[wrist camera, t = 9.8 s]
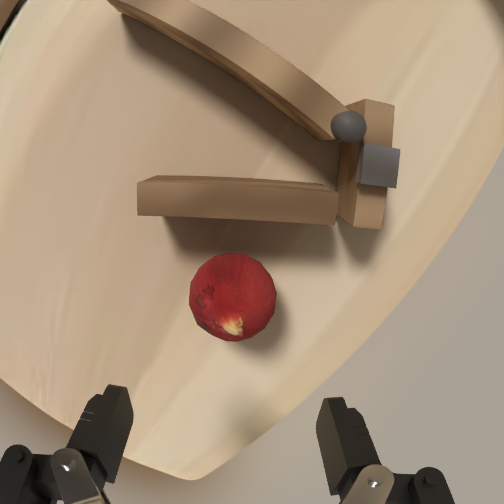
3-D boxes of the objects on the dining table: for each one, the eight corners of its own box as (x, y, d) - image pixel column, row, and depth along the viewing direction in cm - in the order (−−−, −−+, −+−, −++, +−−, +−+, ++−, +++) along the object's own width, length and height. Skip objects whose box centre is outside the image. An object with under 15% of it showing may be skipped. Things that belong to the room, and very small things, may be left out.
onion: (211, 314, 25) (200, 379, 18) (186, 252, 23) (161, 301, 16) (279, 296, 25) (293, 358, 17) (259, 229, 23) (267, 272, 15)
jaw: (344, 128, 20) (373, 124, 15) (327, 148, 21) (353, 149, 16) (134, -8, 16) (110, -37, 11) (118, 11, 16) (90, -16, 11)
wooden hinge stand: (160, 95, 19) (137, 81, 14) (369, 111, 20) (403, 104, 15) (156, 202, 22) (133, 218, 17) (359, 214, 23) (389, 233, 18)
